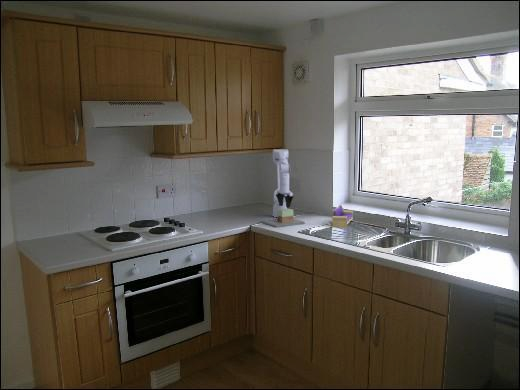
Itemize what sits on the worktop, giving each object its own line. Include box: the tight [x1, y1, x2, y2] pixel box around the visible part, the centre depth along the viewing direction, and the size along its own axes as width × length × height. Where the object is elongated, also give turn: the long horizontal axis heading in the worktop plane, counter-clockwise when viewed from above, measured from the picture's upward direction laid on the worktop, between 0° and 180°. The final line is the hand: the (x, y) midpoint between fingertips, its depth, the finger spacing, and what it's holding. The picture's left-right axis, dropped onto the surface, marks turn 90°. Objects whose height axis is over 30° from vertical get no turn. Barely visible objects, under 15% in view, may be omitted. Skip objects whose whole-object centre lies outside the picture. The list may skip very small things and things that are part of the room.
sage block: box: [277, 208, 294, 217], centre depth 274 cm, size 6×8×4 cm
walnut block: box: [276, 215, 294, 223], centre depth 274 cm, size 6×8×4 cm
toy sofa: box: [331, 204, 354, 229], centre depth 270 cm, size 21×9×10 cm, turn 158°
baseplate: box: [260, 218, 305, 228], centre depth 275 cm, size 18×20×1 cm
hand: (284, 206), depth 273 cm, fingers open, 7 cm apart
